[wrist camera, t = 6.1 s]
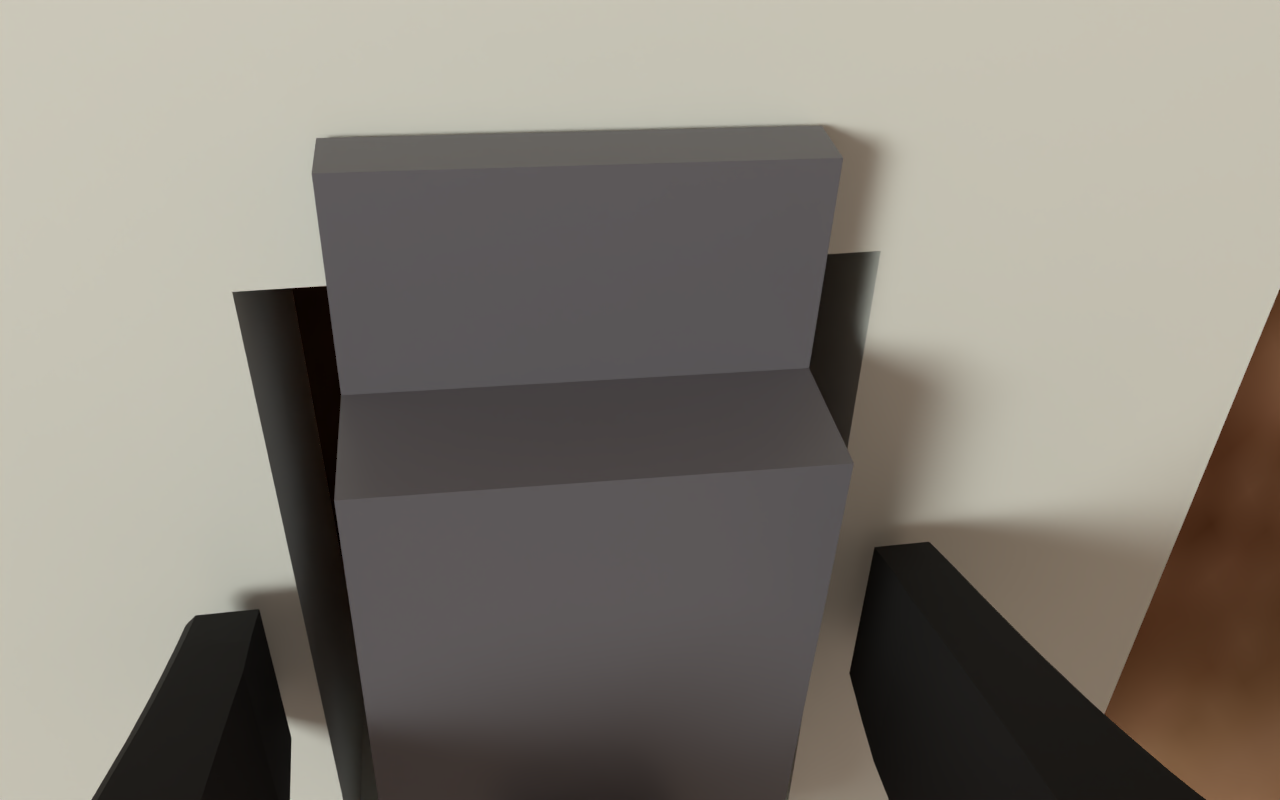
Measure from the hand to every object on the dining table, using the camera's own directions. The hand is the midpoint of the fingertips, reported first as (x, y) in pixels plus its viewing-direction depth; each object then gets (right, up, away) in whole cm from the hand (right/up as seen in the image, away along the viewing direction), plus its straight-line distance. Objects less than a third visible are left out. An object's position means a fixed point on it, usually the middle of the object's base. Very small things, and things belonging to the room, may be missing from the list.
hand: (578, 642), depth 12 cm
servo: (-1, +2, +3) cm, 3 cm away
